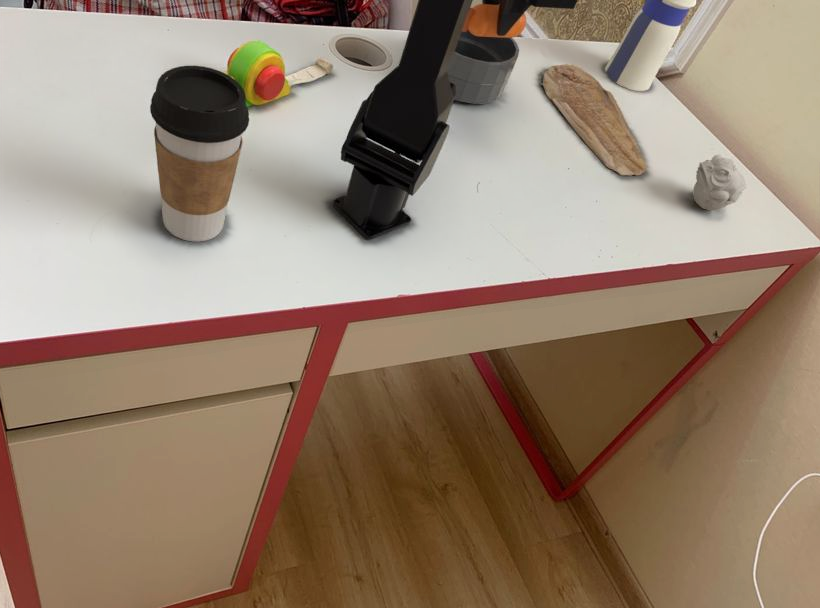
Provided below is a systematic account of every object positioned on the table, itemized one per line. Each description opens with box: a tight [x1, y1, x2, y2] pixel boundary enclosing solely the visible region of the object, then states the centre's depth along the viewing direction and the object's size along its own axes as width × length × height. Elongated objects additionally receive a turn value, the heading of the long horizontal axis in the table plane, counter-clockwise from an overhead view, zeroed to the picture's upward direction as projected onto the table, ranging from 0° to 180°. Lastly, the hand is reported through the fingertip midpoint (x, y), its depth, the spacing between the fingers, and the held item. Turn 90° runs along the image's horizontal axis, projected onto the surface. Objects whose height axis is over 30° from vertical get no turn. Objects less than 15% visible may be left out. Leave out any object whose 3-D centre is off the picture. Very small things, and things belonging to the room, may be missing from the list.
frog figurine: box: [692, 154, 747, 211], centre depth 91 cm, size 6×7×7 cm
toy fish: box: [462, 3, 527, 38], centre depth 87 cm, size 9×4×4 cm, turn 109°
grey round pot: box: [447, 28, 520, 105], centre depth 98 cm, size 13×13×6 cm
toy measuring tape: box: [222, 40, 334, 107], centre depth 86 cm, size 6×20×7 cm, turn 138°
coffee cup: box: [149, 65, 250, 243], centre depth 65 cm, size 8×8×15 cm
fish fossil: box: [541, 63, 647, 177], centre depth 102 cm, size 26×10×1 cm, turn 18°
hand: (494, 26), depth 88 cm, fingers closed on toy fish, 3 cm apart
